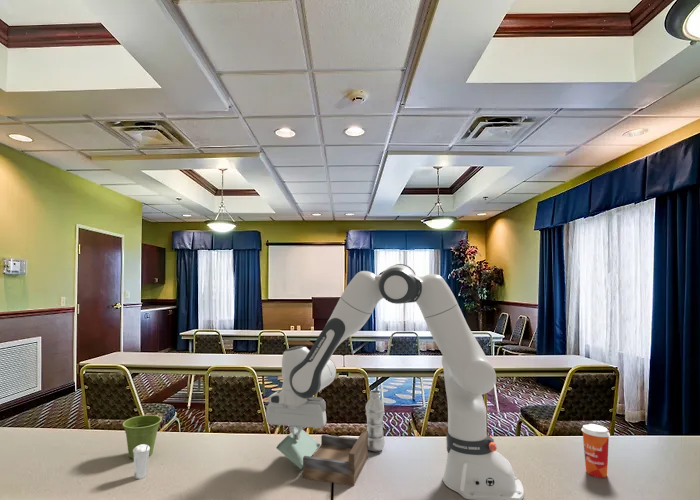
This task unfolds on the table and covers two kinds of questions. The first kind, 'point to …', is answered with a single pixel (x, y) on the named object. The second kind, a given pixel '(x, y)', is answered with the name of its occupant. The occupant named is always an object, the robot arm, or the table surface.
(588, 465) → the paper cup
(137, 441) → the plant pot
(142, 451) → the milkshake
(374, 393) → the plastic bottle
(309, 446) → the panel
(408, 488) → the table surface
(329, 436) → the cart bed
